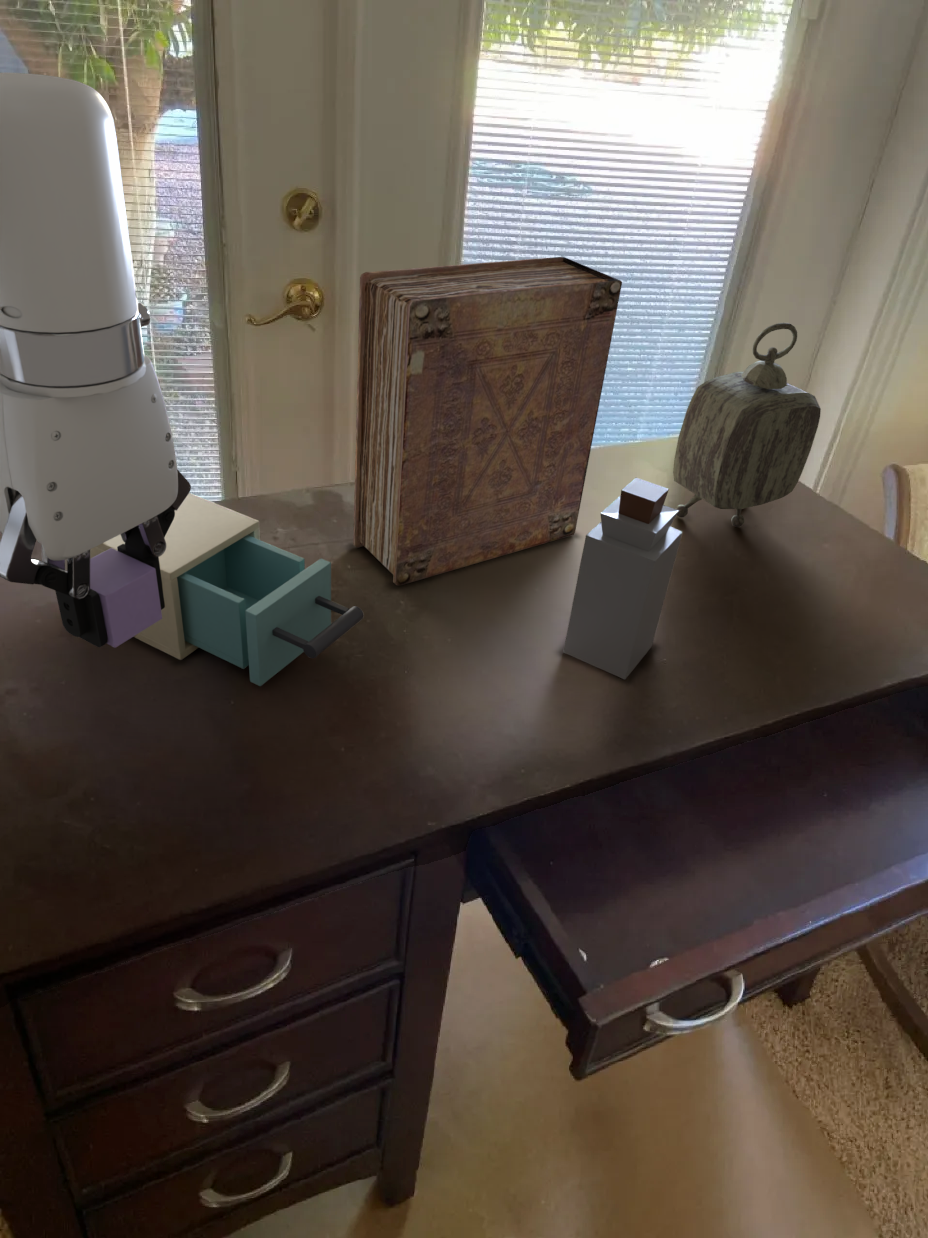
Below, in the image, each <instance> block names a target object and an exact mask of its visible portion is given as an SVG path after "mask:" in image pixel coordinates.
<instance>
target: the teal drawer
mask: <svg viewBox="0 0 928 1238" xmlns="http://www.w3.org/2000/svg"><path fill="white" fill-rule="evenodd" d="M305 561H306V559H305V558H304V557H302V556H300V555H297V554H295V553H292V552H290V551H287V550H285V549H282V548H280V547H277V546H275V545H273V544H270V543H268V542H265V541H263V540H261V539H260V540H258V539H256V538H253V537H251V536H248V535H246V536H245V537H243V538H241V539H240V540H238V541H236V542H235V543H233V544H231V545H230V546H228V547H226V548H225V549H223V550H221V551H220V552H218V553H216V554H215V555H213V556H211V557H210V558H208V559H207V560H205V561H203V562H202V563H200V564H198V565H197V566H195V567H193V568H192V569H190V570H188V571H187V572H185V573H183V574H182V575H180V576H178V577H177V581H178V589H179V597H180V606H181V614H182V622H183V631H184V639H185V641H186V642H188V643H191V644H193V645H195V646H197V647H199V648H198V649H201V650H203V651H205V652H207V653H210V654H211V655H214V656H215V657H217V658H220V659H221V660H224V661H226V662H228V663H229V664H232V665H234V666H236V667H238V668H241V669H243V670H245V669H246V668H248V672H249V673H248V674H249V682H250V683H252V684H255V685H256V686H258V687H262V686H263V685H264V684H265V683H267V682H268V681H269V680H271V678H273V677H274V676H275V675H276V674H277V673H280V671H282V670H283V669H285V667H286V666H288V665H289V664H291V663H292V662H293V661H294V660H295V659H296V658H298V657H300V655H302V654H303V653H304V654H305V656H307V657H308V658H309V659H315V658H317V657H318V656H319V655H321V654H322V653H323V652H324V651H325V650H326V649H328V648H329V647H330V646H331V645H333V644H334V643H335V642H336V641H338V640H339V639H340V638H341V637H342V636H344V635H345V634H346V633H348V631H349V630H350V629H352V628H353V627H355V626H356V625H357V624H358V623H359V622H361V621H362V620H363V619H364V611H363V610H362V609H361V608H360V607H359V606H356V605H355V606H352V607H350V608H349V607H347V606H344V605H342V604H340V603H337V602H335V601H332V562H331V561H329V560H326V559H324V558H319V559H317V560H316V561H315V562H314V563H312V564H311V565H309V566H308V567H306V566H305V565H306V563H305ZM332 612H333V613H336V614H339V615H340V616H339V617H338V618H336V620H334V621H333V622H332Z"/></svg>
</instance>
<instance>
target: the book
mask: <svg viewBox="0 0 928 1238" xmlns="http://www.w3.org/2000/svg"><path fill="white" fill-rule="evenodd" d="M622 287H623V281H622V280H621V279H618V278H616V277H613V276H611V275H609V274H606V273H603V272H602V271H600V270H597V269H594V268H592V267H590V266H588V265H585V264H582V263H580V262H578V261H575V260H573V259H571V258H568V257H565V256H552V257H541V258H540V257H539V258H528V259H515V260H513V259H512V260H502V261H490V262H489V261H488V262H476V263H475V262H474V263H463V264H462V263H461V264H452V265H450V264H449V265H438V266H427V267H425V266H424V267H414V268H413V267H411V268H401V269H387V270H375V271H365V272H363V273H361V274H360V277H359V300H358V301H359V305H358V306H359V307H358V338H357V339H358V341H357V379H356V412H355V413H356V416H355V417H356V420H355V424H356V425H355V452H354V453H355V456H354V463H355V464H354V489H353V490H354V494H353V496H354V497H353V527H352V528H353V532H352V534H353V535H352V545H353V546H354V547H355V548H356V549H358V548H362V547H364V548H365V549H366V550H368V551H369V553H370V554H371V555H373V556H374V557H375V558H376V559H377V560H378V561H379V562H380V563H381V564H382V566H383V567H384V568H386V569H387V570H388V571H389V572H390V573H391V574H392V576H393V580H392V582H393V583H394V585H396V586H403V585H406V584H410V583H413V582H417V581H420V580H423V579H428V578H430V577H434V576H437V575H441V574H444V573H448V572H451V571H454V570H458V569H462V568H464V567H465V568H466V567H469V566H472V565H474V564H478V563H482V562H485V561H489V560H493V559H495V558H496V559H497V558H499V557H502V556H506V555H509V554H513V553H516V552H520V551H523V550H526V549H531V548H534V547H538V546H540V545H544V544H547V543H550V542H555V541H557V540H561V539H564V538H568V537H572V536H574V535H575V534H576V529H577V524H578V519H579V514H580V508H581V503H582V498H583V493H584V487H585V481H586V476H587V471H588V465H589V460H590V456H591V449H592V446H593V439H594V435H595V429H596V424H597V419H598V413H599V407H600V402H601V397H602V392H603V387H604V381H605V377H606V376H605V375H606V370H607V365H608V360H609V355H610V349H611V345H612V338H613V334H614V333H613V332H614V328H615V322H616V318H617V312H618V306H619V303H620V296H621V291H622Z"/></svg>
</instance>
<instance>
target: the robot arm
mask: <svg viewBox="0 0 928 1238" xmlns="http://www.w3.org/2000/svg"><path fill="white" fill-rule="evenodd" d="M117 138H118V137H117V132H116V126H115V121H114V117H113V114H112V111H111V108H110V107H109V105H108V103H107V101H106V100H105V98H104V97H103V96H102V94H101V93H99V91H97V90H96V89H95V88H94V87H92V86H90V85H88V84H85V83H84V82H81V81H79V80H75V79H70V78H65V77H60V76H55V75H49V74H39V73H25V72H0V534H1V538H0V578H2V579H4V580H5V581H7V582H10V583H17V584H24V585H39V586H40V585H41V586H42V587H45V588H47V589H50V590H52V591H54V592H55V595H56V601H57V605H58V609H59V614H60V619H61V623H62V626H63V628H64V630H65V631H66V632H67V633H68V634H70V635H72V636H73V637H75V638H79V639H81V640H83V641H86V642H87V643H89V644H91V645H93V646H95V647H96V648H102V647H104V646H105V645H107V640H108V638H107V632H106V627H105V622H104V616H103V611H102V606H101V600H100V596H99V593H97V592H96V591H94V590H92V589H90V549H92V548H94V547H96V546H98V545H100V544H102V543H104V542H106V541H108V540H110V539H112V538H114V537H116V536H118V535H120V534H121V537H122V540H123V541H124V542H125V544H122V545H120V546H118V547H117V549H118V551H119V552H121V553H123V554H125V555H127V556H130V557H132V558H134V559H136V560H138V561H140V562H142V563H145V564H147V565H149V566H151V567H153V568H155V569H156V577H157V584H158V591H159V598H160V606H161V610H162V609H163V608H165V603H164V596H163V588H162V579H161V571H160V564H159V557H160V556H161V555H162V554H163V553H164V552H165V550H166V541H165V538H164V537H165V535H166V533H167V531H168V529H169V527H170V525H171V523H172V522H173V520H174V517H175V510H176V511H177V510H178V508H179V507H180V505H181V504H182V502H183V501H184V500H185V498H186V497H187V495H188V494H189V493H191V489H192V486H191V483H190V482H189V481H188V479H187V478H186V477H185V476H184V474H182V473H181V471H179V469H178V464H177V455H176V449H175V443H174V438H173V433H172V427H171V423H170V418H169V414H168V410H167V406H166V402H165V398H164V395H163V391H162V388H161V385H160V381H159V378H158V375H157V373H156V370H155V367H154V365H153V362H152V360H151V358H150V357H149V356H148V355H146V354H145V351H144V345H143V337H142V336H143V335H142V328H144V327H148V326H149V325H150V322H151V315H150V312H149V310H148V308H147V307H146V305H144V304H143V303H142V302H138V295H137V292H136V281H135V272H134V263H133V256H132V249H131V248H132V247H131V241H130V234H129V233H130V232H129V224H128V217H127V210H126V202H125V194H124V193H125V192H124V185H123V178H122V170H121V161H120V154H119V153H120V152H119V146H118V139H117ZM36 543H38V544H40V546H41V547H40V549H41V560H40V559H37V558H34V557H32V555H33V552H34V549H35V546H36ZM67 559H68V560H67ZM66 569H67V570H66Z"/></svg>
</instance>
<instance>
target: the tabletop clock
mask: <svg viewBox="0 0 928 1238" xmlns="http://www.w3.org/2000/svg"><path fill="white" fill-rule="evenodd" d="M778 330H788V331H790V332H791V335H792V339H791V342H790V344H789V345H788V346H787V347H785V348H784V349H783V350H781V351H779V352H778V349H777V348H776V347H774V346H772V347H769V348H768V349H767V353H766V354H762V353H759V352H758V346H759V344H760V342H761V341H762V340H763V339H764V338H765V337H766V335H768V334H770V333H771V332H774V331H778ZM797 340H798V330H797V329H796V327H795V326H794V325H793V324H792V323H789V322H779V323H775V324H772V325H769V326H767V327H766V328H765V329H763V330H762V331H761V332H760V333H759V334H758V335H757V337H756V338H755V340H754V342H753V344H752V355H753V356H754V358H755V359H757V361H755V362H753V363H751V364H750V365H748V366H747V367H746V368H745V369H744V370H743V371H735V372H731V373H727V374H724V375H720V376H716V377H712V378H710V379H708V380H706V381H704V382H703V383H701V384H700V385H698V386H697V388H696V390H695V391H694V393H693V395H692V396H691V399H690V401H689V404H688V406H687V409H686V411H685V415H684V418H683V421H682V425H681V428H680V431H679V434H678V437H677V443H676V448H675V455H674V459H673V468H672V474H673V475H672V476H673V481H674V482H675V483H677V484H678V485H680V486H682V487H683V488H684V489H686V490H687V491H689V492H691V493H692V494H693V496H692V497H691V499H689V501H687V503H685V504H678V505H677V506H676V507H675V509H676V510H679V511H678V513H677V515H676V517H678V518H685V517H686V516H687V515H688V514H689V508H690V507H692V506H693V505H695V504H696V503H697V502H699V501H701V500H703V501H705V502H707V503H708V504H709V505H711V506H713V507H714V508H717V509H720V510H735V513H736V514H734V515H733V516H732V517H731V521H730V522H731V525H732V527H735V528H740V527H743V526H744V524H745V522H746V521H745V517H744V515H742V510H743V509H747V508H748V509H749V508H753V507H757V506H762V505H765V504H768V503H771V502H774V501H777V500H779V499H783V498H784V497H786V496H788V495H789V494H790V493H792V492H793V491H794V490H795V488H796V486H797V484H798V482H799V480H800V478H801V476H802V474H803V471H804V469H805V466H806V463H807V460H808V458H809V455H810V453H811V451H812V447H813V445H814V442H815V441H814V440H815V438H816V434H817V431H818V428H819V424H820V420H821V412H822V411H821V410H822V409H821V406H820V404H819V402H818V399H817V398H816V396H815V395H813V394H812V393H810V392H808V391H805V390H803V389H801V388H799V387H797V386H795V385H793V384H790V383H788V379H787V374H786V372H785V370H784V369H783V367H782V366H781V364H779V363H777V362H776V360H778V359H781V358H783V357H784V356H787V355H788V354H789V353H790V352H791V350H792V349H793V348H794V347H795V345H796V343H797Z"/></svg>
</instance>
